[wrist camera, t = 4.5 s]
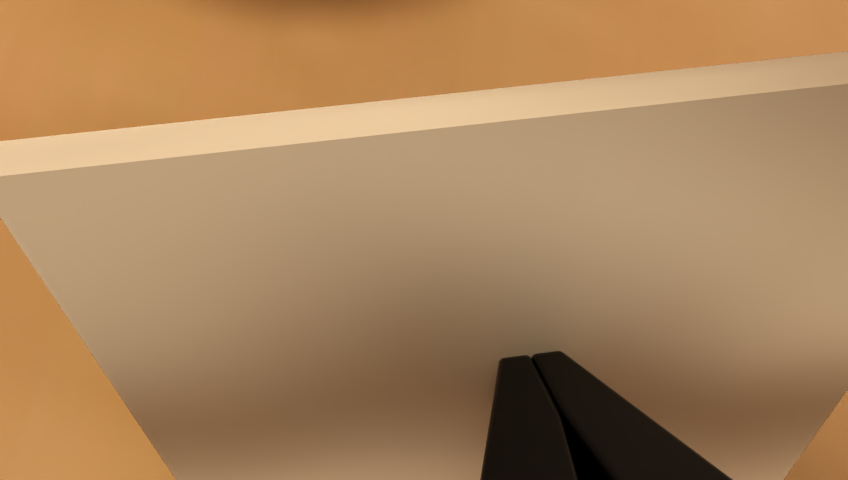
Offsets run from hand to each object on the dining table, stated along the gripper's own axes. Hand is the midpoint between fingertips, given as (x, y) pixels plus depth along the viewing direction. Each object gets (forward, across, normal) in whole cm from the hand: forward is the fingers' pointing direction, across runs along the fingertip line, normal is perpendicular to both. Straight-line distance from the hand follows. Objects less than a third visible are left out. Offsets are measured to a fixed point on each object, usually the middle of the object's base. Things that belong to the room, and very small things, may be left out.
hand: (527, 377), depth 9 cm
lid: (+1, 0, +1) cm, 1 cm away
